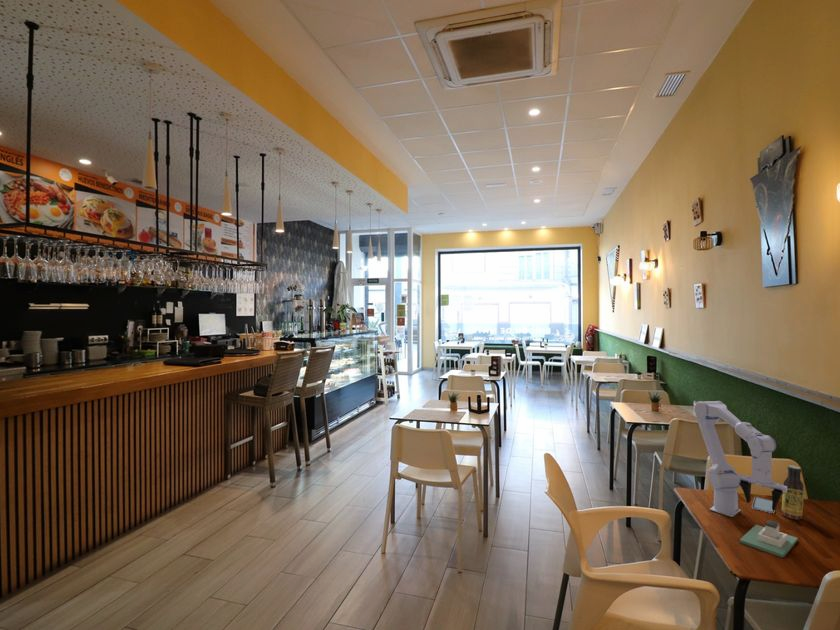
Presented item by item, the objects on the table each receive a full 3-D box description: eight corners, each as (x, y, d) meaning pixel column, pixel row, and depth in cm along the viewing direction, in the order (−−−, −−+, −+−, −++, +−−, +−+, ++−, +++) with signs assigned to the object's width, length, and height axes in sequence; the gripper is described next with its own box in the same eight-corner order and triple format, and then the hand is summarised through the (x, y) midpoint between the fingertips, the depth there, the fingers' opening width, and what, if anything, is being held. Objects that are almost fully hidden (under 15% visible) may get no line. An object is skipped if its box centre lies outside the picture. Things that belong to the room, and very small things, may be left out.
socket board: (755, 527, 163) (756, 519, 163) (797, 540, 153) (797, 532, 153) (739, 542, 152) (739, 533, 152) (783, 557, 142) (783, 548, 142)
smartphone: (776, 501, 185) (774, 512, 174) (776, 503, 185) (774, 515, 174) (754, 496, 190) (751, 506, 179) (754, 498, 190) (751, 509, 179)
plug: (768, 536, 154) (768, 519, 154) (779, 540, 152) (779, 523, 152) (764, 540, 152) (765, 523, 152) (775, 543, 149) (775, 526, 149)
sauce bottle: (783, 518, 170) (784, 467, 170) (779, 511, 176) (780, 462, 176) (805, 522, 167) (806, 470, 167) (800, 515, 173) (801, 465, 173)
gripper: (734, 465, 163) (734, 501, 163) (783, 477, 152) (783, 515, 152) (740, 461, 168) (740, 496, 168) (789, 472, 156) (788, 510, 156)
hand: (761, 505), depth 160 cm, fingers open, 7 cm apart
